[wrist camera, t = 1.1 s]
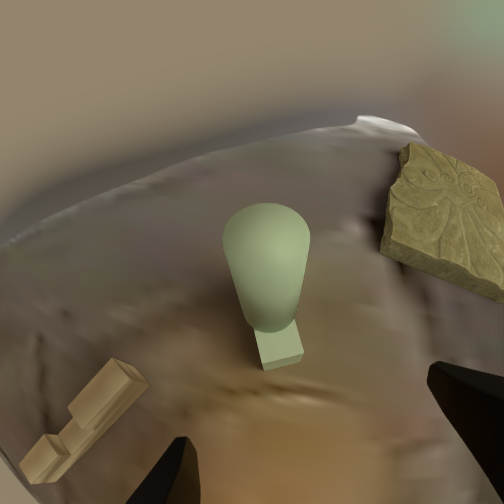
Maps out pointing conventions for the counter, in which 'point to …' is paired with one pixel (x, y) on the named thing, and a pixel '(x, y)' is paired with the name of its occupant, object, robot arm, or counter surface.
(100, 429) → the birch slotted plate
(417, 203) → the decorative tile
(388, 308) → the counter surface
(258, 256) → the green joystick knob
